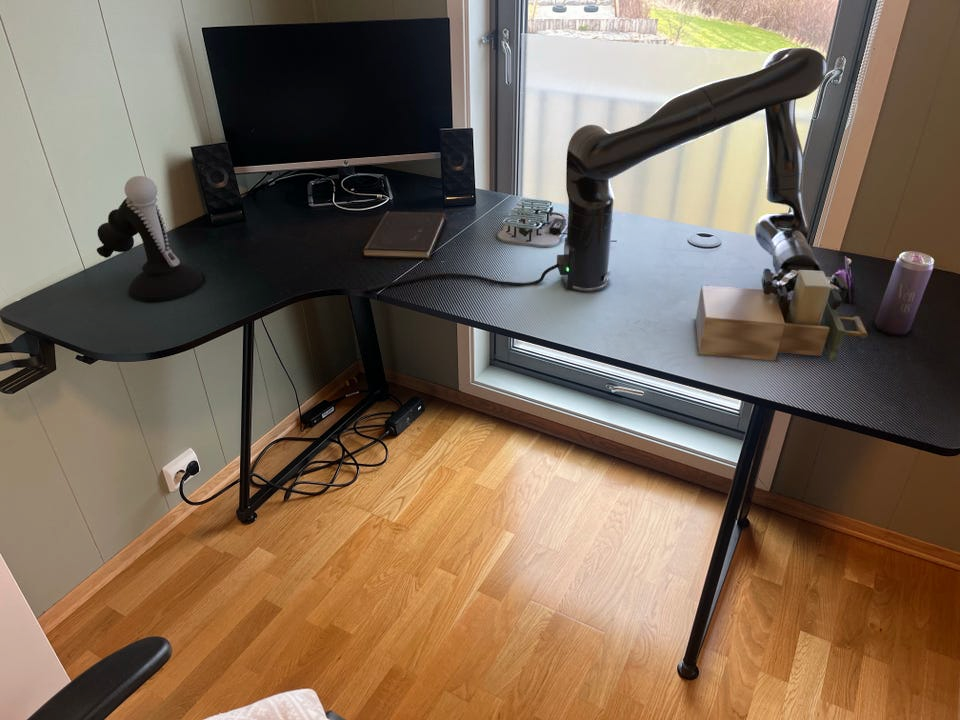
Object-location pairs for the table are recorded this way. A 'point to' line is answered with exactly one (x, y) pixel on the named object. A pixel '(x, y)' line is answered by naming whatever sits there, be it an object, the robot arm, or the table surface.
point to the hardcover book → (405, 235)
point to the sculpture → (147, 245)
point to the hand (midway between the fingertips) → (810, 303)
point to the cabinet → (738, 323)
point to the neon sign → (534, 224)
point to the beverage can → (904, 292)
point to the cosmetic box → (808, 298)
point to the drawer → (817, 334)
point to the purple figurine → (846, 276)
